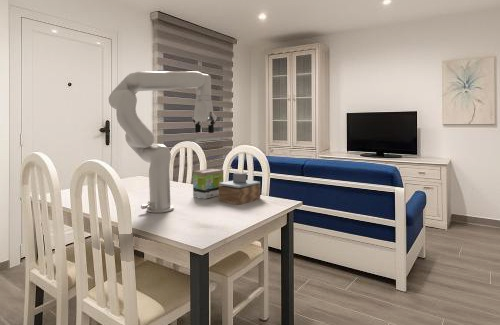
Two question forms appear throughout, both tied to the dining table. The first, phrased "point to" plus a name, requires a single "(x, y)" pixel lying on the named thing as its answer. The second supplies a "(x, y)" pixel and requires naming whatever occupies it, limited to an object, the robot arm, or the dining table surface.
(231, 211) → the dining table surface
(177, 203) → the dining table surface
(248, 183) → the lid
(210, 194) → the tea box
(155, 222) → the dining table surface
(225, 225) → the dining table surface
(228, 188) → the box
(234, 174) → the block
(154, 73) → the robot arm
